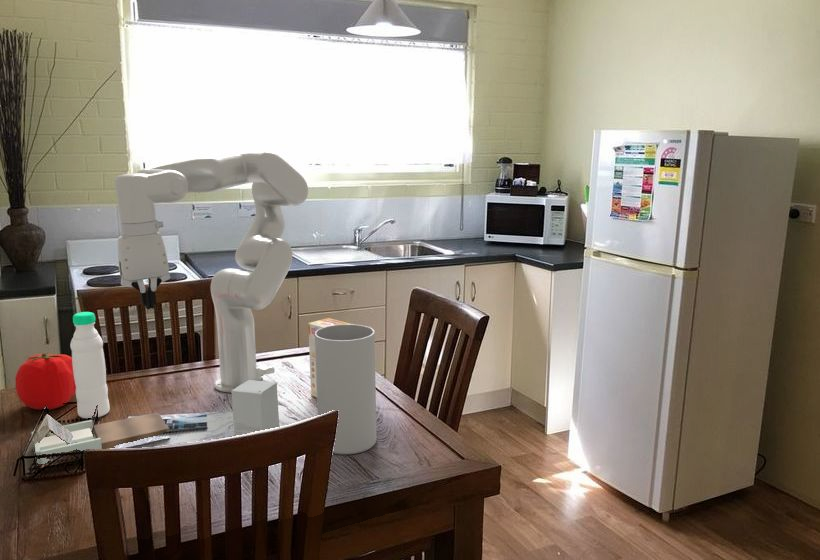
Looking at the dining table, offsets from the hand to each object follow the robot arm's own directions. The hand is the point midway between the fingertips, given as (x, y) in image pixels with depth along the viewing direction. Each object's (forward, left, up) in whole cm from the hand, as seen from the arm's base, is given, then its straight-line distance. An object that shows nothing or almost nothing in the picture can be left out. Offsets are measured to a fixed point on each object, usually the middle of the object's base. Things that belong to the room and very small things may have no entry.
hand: (149, 307), depth 161 cm
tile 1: (+23, +9, -26) cm, 36 cm away
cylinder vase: (-31, +38, -27) cm, 56 cm away
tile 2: (+18, +8, -26) cm, 33 cm away
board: (+8, +9, -27) cm, 29 cm away
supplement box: (-15, +26, -27) cm, 40 cm away
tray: (+21, +9, -27) cm, 35 cm away
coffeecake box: (-41, +14, -27) cm, 51 cm away
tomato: (+21, -22, -27) cm, 41 cm away
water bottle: (+13, -10, -27) cm, 32 cm away
